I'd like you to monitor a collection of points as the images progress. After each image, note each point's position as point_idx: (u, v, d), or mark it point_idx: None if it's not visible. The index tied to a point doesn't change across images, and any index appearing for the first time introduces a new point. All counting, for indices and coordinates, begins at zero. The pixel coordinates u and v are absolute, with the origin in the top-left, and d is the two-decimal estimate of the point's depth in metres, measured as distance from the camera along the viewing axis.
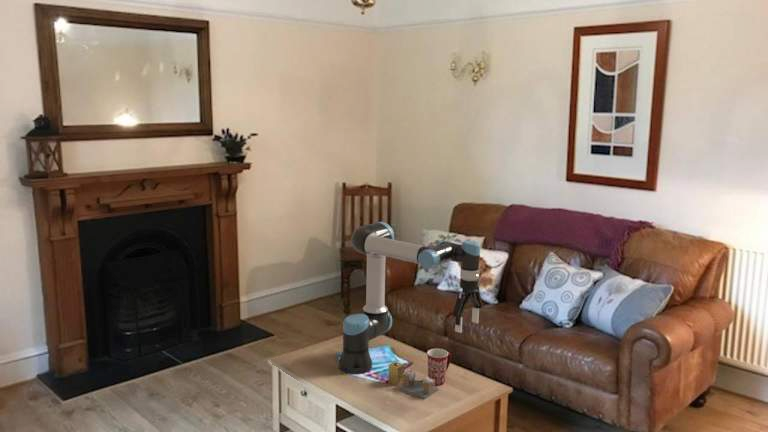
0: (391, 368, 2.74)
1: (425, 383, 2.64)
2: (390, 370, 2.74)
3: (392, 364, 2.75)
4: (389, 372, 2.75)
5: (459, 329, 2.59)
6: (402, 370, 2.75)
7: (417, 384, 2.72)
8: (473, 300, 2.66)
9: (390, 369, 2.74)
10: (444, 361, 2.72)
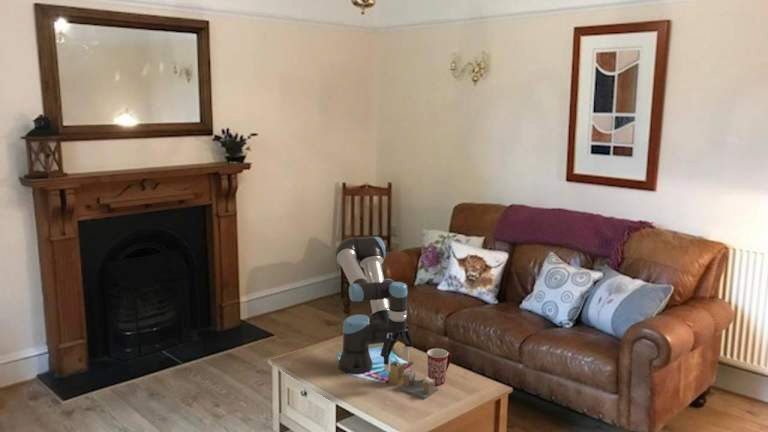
0: (391, 368, 2.74)
1: (425, 383, 2.64)
2: (390, 370, 2.74)
3: (392, 364, 2.75)
4: (389, 372, 2.75)
5: (387, 368, 2.68)
6: (402, 370, 2.75)
7: (417, 384, 2.72)
8: (403, 339, 2.75)
9: (390, 369, 2.74)
10: (444, 361, 2.72)
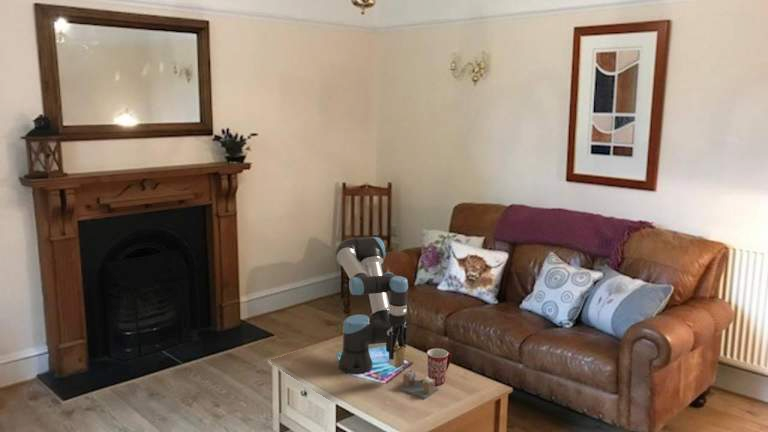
0: None
1: (425, 383, 2.64)
2: None
3: None
4: None
5: (393, 363, 2.72)
6: (402, 353, 2.73)
7: (417, 384, 2.72)
8: (399, 336, 2.74)
9: None
10: (444, 361, 2.72)
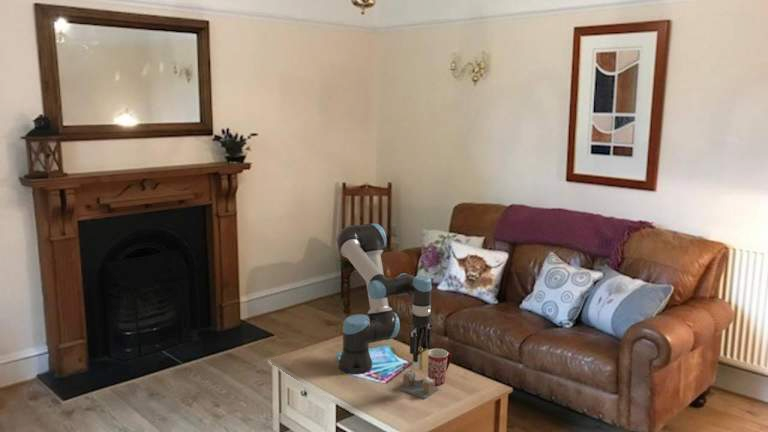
0: None
1: (425, 383, 2.64)
2: None
3: None
4: None
5: (417, 366, 2.64)
6: (427, 355, 2.65)
7: (417, 384, 2.72)
8: (423, 338, 2.66)
9: None
10: (444, 361, 2.72)
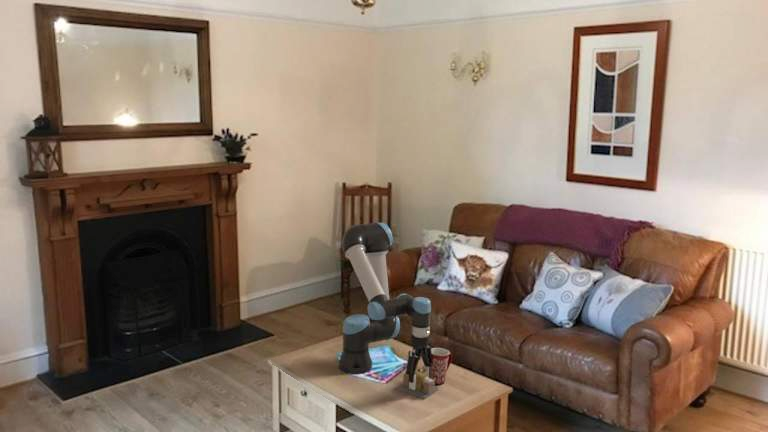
0: None
1: (425, 383, 2.64)
2: None
3: None
4: None
5: (413, 386, 2.64)
6: (425, 376, 2.67)
7: None
8: (424, 357, 2.68)
9: None
10: (445, 360, 2.72)
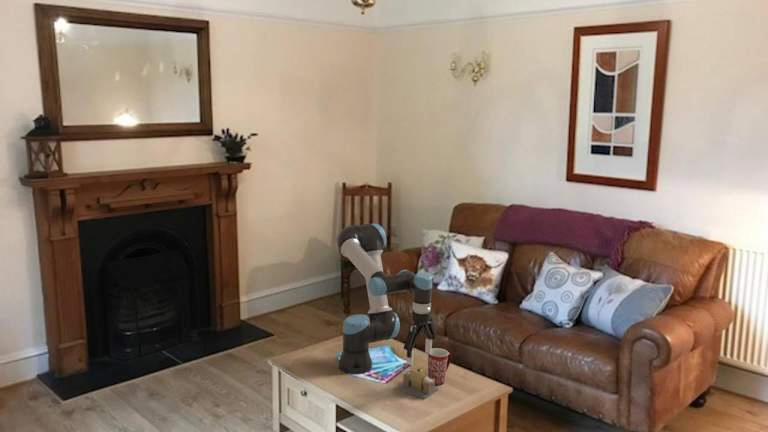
0: (414, 374, 2.66)
1: (425, 383, 2.64)
2: (413, 376, 2.67)
3: (415, 370, 2.67)
4: (412, 378, 2.67)
5: (410, 361, 2.60)
6: (425, 376, 2.67)
7: None
8: (426, 332, 2.67)
9: (413, 375, 2.67)
10: (444, 360, 2.72)
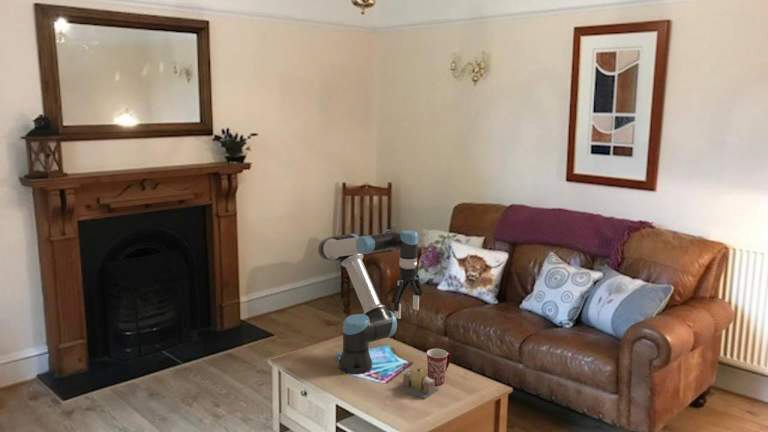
0: (414, 374, 2.66)
1: (425, 383, 2.64)
2: (413, 376, 2.67)
3: (415, 370, 2.67)
4: (412, 378, 2.67)
5: (398, 315, 2.71)
6: (425, 376, 2.67)
7: None
8: (413, 288, 2.78)
9: (413, 375, 2.67)
10: (444, 361, 2.72)
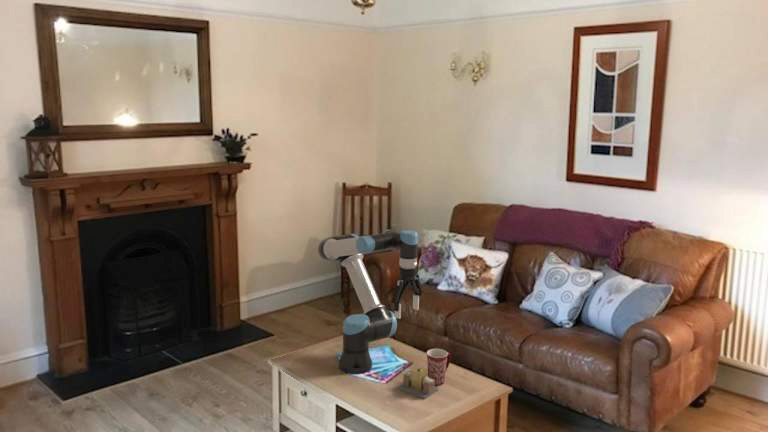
0: (414, 374, 2.66)
1: (425, 383, 2.64)
2: (413, 376, 2.67)
3: (415, 370, 2.67)
4: (412, 378, 2.67)
5: (398, 315, 2.71)
6: (425, 376, 2.67)
7: None
8: (413, 287, 2.78)
9: (413, 375, 2.67)
10: (444, 361, 2.72)
